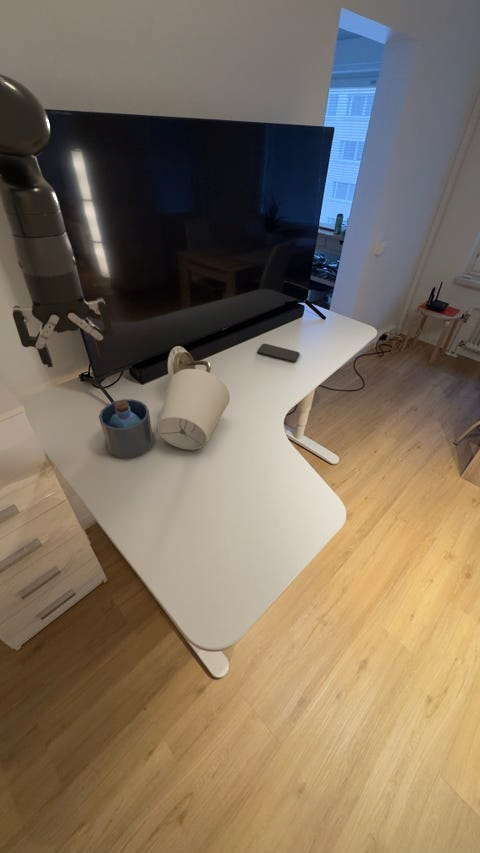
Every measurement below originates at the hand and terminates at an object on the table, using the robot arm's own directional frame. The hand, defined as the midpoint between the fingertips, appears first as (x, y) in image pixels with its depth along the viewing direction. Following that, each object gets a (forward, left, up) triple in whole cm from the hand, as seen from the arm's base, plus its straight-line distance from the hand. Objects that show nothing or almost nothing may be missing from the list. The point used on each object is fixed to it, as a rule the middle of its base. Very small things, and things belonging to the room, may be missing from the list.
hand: (76, 360), depth 62 cm
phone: (+68, +36, -31) cm, 83 cm away
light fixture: (+27, +14, -31) cm, 44 cm away
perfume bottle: (+7, +9, -31) cm, 32 cm away
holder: (+7, +9, -31) cm, 33 cm away
